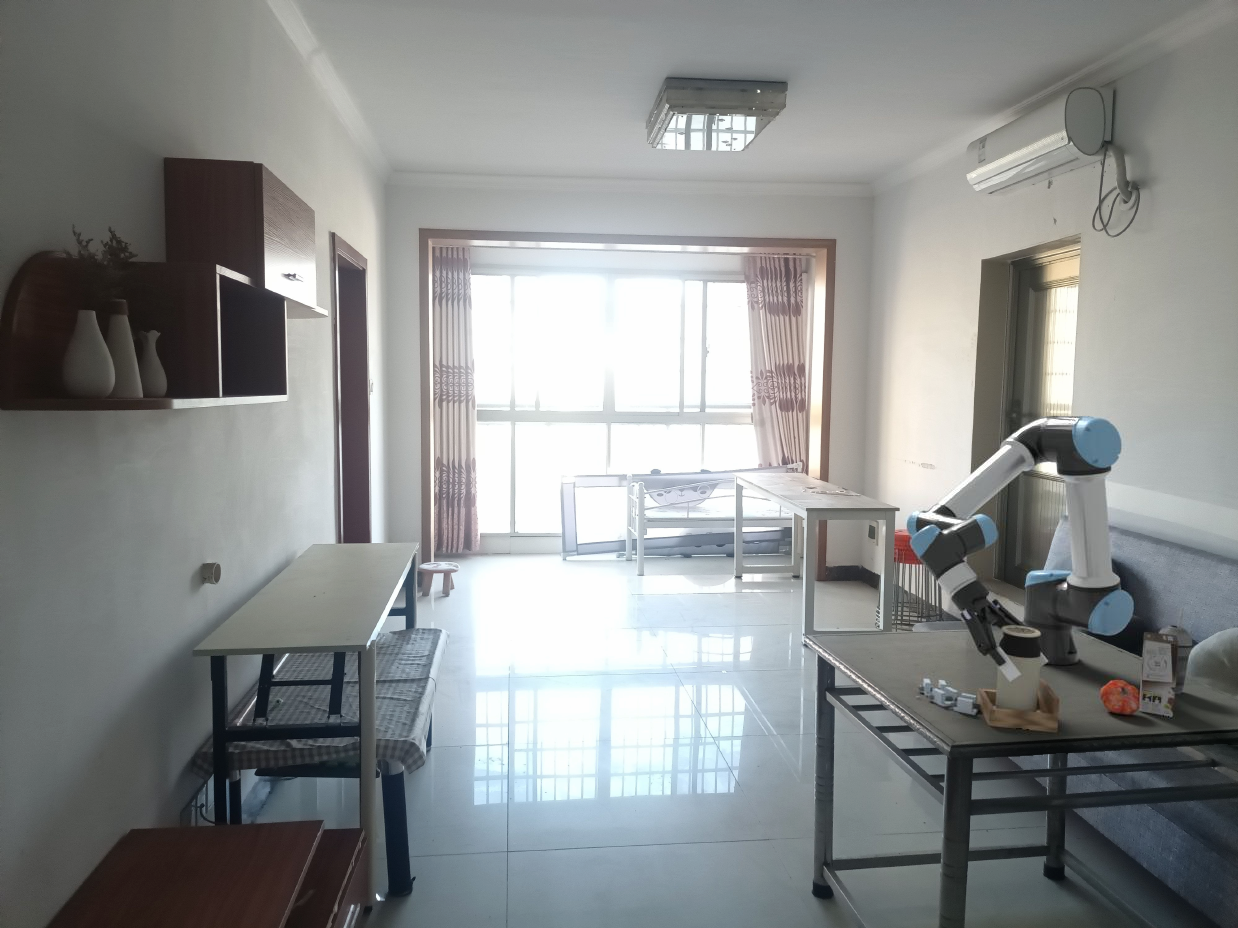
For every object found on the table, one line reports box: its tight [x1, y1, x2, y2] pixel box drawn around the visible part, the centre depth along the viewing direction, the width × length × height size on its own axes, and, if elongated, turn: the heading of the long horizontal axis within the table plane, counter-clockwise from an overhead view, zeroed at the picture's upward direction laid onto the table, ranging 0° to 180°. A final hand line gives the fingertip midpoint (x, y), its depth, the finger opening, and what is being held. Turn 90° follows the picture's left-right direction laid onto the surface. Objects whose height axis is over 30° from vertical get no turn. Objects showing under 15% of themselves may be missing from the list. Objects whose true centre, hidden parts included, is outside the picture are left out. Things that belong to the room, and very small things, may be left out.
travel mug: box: [995, 625, 1041, 712], centre depth 179 cm, size 8×8×18 cm
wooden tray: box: [976, 678, 1060, 734], centre depth 179 cm, size 13×13×7 cm
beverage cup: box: [1158, 607, 1194, 695], centre depth 198 cm, size 7×7×20 cm
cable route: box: [917, 678, 981, 716], centre depth 188 cm, size 12×14×3 cm
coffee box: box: [1139, 631, 1179, 718], centre depth 186 cm, size 9×6×16 cm
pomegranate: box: [1100, 679, 1140, 716], centre depth 184 cm, size 7×7×10 cm
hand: (1029, 671), depth 177 cm, fingers open, 13 cm apart
